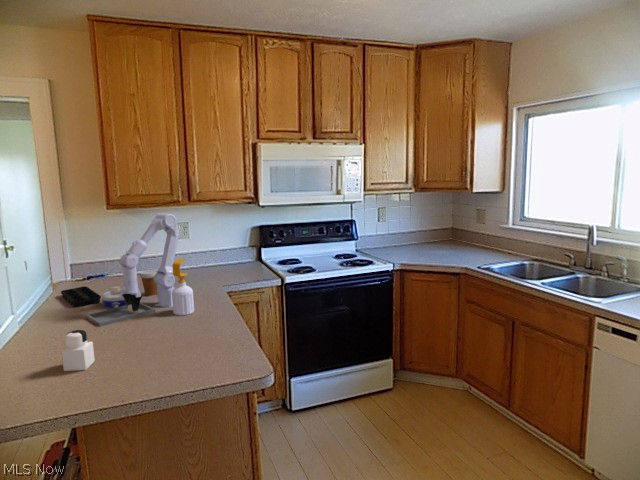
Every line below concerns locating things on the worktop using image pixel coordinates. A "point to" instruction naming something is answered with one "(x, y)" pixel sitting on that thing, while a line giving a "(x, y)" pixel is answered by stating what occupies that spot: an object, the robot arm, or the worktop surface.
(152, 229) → the robot arm
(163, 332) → the worktop surface
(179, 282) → the soap bottle
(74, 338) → the medicine bottle
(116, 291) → the pebble
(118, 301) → the dog bowl
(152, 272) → the disposable coffee cup
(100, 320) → the parts tray
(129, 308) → the pebble
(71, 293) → the egg carton
